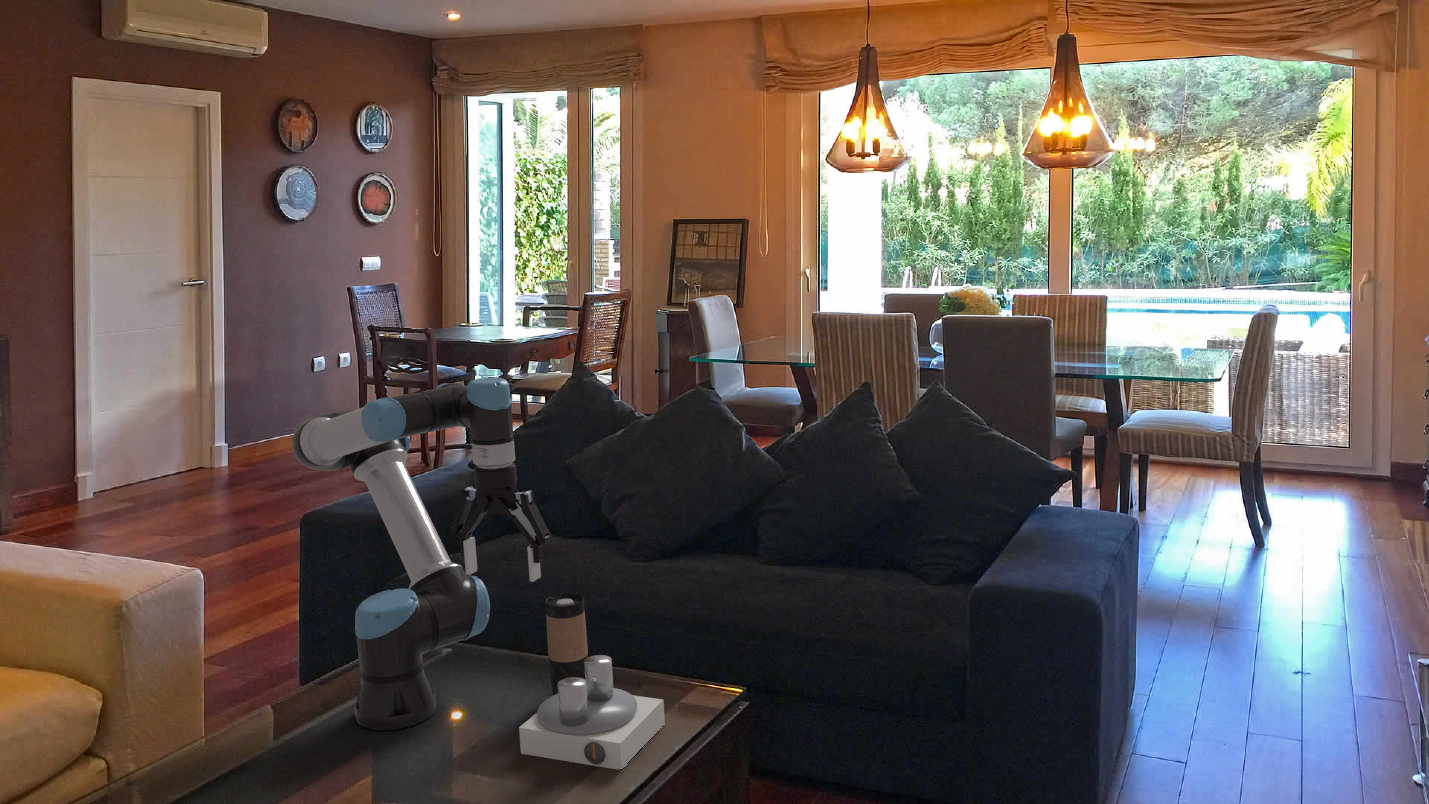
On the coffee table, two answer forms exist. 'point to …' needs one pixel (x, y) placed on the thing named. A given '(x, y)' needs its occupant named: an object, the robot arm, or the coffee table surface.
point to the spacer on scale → (599, 678)
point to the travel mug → (566, 637)
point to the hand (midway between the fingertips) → (503, 576)
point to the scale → (594, 731)
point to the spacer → (572, 701)
